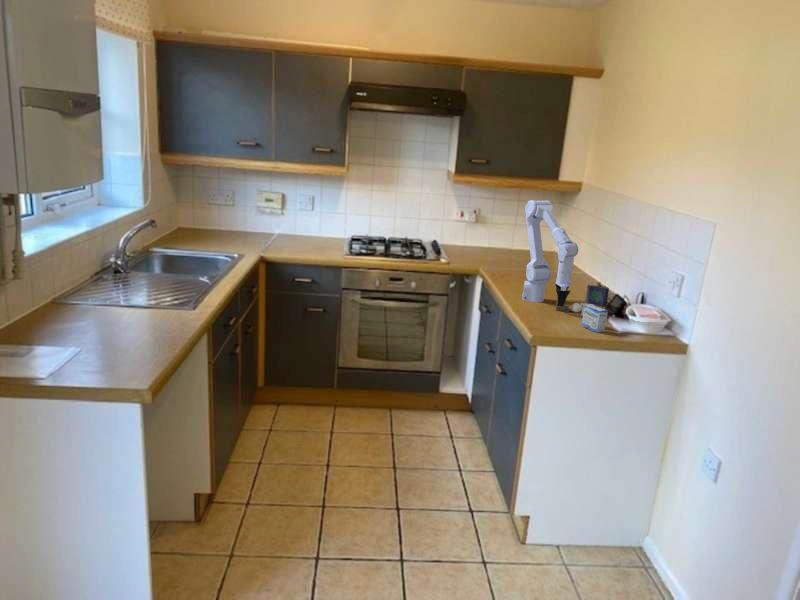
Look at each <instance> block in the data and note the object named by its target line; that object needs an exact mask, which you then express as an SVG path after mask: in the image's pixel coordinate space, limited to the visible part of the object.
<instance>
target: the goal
mask: <svg viewBox="0 0 800 600" xmlns="http://www.w3.org/2000/svg"><path fill="white" fill-rule="evenodd" d="M580 305H581V310H580V311H581V314H580V315H581V317H583V313H584V307H585V306H586V305H594V304H589V303H585V302H584V303H583V302H580Z"/></svg>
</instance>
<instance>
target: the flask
mask: <svg viewBox="0 0 800 600" xmlns="http://www.w3.org/2000/svg"><path fill="white" fill-rule="evenodd" d="M596 284H597V285H595V284H588V285H587V288H586V293H585V294H586V295H585V300H584V304H593V305H594V306H599V307H607V306H606V304H608V299H609V294H610V293H609V292H610V288H609V287H608V286H605V285H602V284H601V281H599V282H596Z"/></svg>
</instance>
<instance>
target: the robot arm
mask: <svg viewBox="0 0 800 600" xmlns="http://www.w3.org/2000/svg"><path fill="white" fill-rule="evenodd" d="M526 203H527V204H526V205H525V207H524V211H525V221H526V222H525V223H526V228H527V229H526V230H527V238H528V245H529V254H530V255H529V256H530V261H529V262H528V263H527V264H526V271H525V272H526V273H525V277H526V279H527V280H524V284H523V292H522V294H521V295H522V296H521V297H522V301H527V302H533V303H543V302H544V301H545V295H546V294H545V293H546V286H547V283H548V281H550V280H551V278H552V270H551V268H550V264H549V262H548V261H547V260H546V259H545V257H544V250H543V241H542V235H541V234H542V233H541V226H540V224H541V222H543V220H544V221H545V222H546V225H547V226H548V228H549V229H550V231H551V238H552V240H553V241H554V242H555V245H556V247H557V249H556V252H557V255H558V256H557V257H558V258H557V259H558V267H557V275H556V280H555V288H556V289H555V291H556V294H557V296H558V306H565V304H566V301H567V298H568V296H569V295H570V294H571V290H569V288H570V286H574V282H572V277H573V268H574V262H575V260H574V259H575V257H576V256H578V253H579V247H578V243H576V242H575V241H573V240H571V238H570V237H569V235H568V233H567V230H566V228H564V227H560V225H559V223H558V220H557V218H556V216H555V213H554V212H553V211H554V206H553V204H552V203H551V201H550V200H547V199H546V200H532V199H531V200H528V202H526ZM557 296H556V297H557Z"/></svg>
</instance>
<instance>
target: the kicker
mask: <svg viewBox="0 0 800 600" xmlns="http://www.w3.org/2000/svg"><path fill="white" fill-rule="evenodd" d="M569 310H570V308H569V305H564V306H558V296H556V302H555V311H557V312H562V313H569Z"/></svg>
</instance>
